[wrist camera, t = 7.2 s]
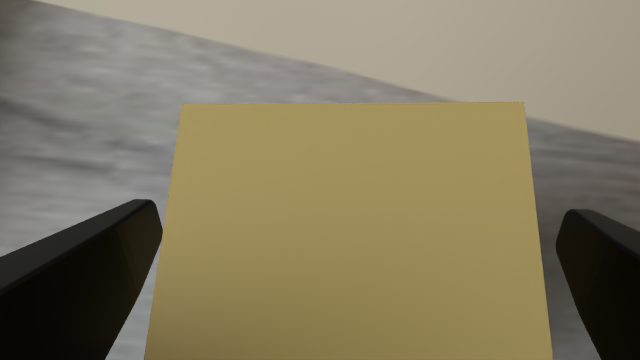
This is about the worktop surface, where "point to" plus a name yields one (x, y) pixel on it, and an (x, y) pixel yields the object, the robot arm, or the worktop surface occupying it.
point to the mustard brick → (350, 235)
